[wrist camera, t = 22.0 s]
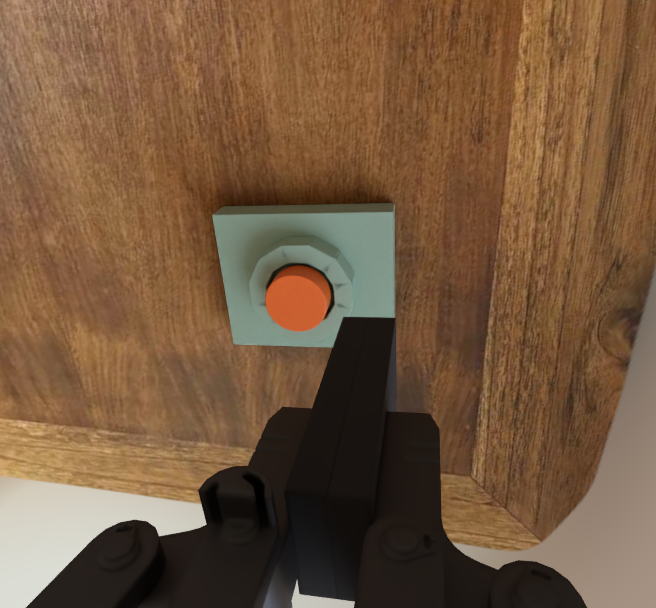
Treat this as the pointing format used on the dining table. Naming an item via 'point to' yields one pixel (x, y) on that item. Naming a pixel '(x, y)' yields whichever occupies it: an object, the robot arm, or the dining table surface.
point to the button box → (306, 264)
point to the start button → (298, 298)
